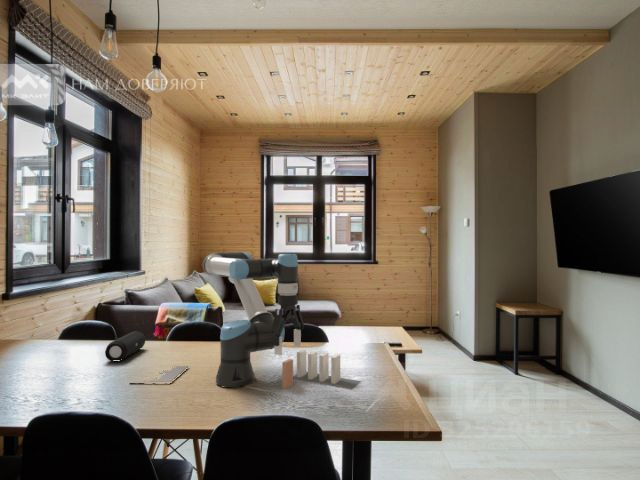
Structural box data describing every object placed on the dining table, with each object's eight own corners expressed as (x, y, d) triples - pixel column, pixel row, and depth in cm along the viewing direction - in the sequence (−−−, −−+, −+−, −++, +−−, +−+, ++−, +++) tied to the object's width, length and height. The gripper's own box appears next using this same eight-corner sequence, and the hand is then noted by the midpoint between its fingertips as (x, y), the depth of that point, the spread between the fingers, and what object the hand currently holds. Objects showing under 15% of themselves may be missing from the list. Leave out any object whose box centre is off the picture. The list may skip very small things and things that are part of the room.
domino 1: (296, 377, 157) (296, 352, 157) (303, 373, 161) (303, 349, 161) (300, 377, 156) (300, 352, 156) (306, 374, 160) (306, 350, 161)
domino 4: (331, 383, 149) (331, 357, 150) (336, 379, 154) (336, 354, 154) (334, 383, 149) (334, 357, 149) (340, 380, 153) (340, 354, 153)
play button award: (188, 366, 170) (170, 381, 150) (188, 369, 170) (170, 385, 150) (152, 365, 170) (129, 381, 150) (152, 369, 170) (129, 385, 150)
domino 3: (319, 381, 152) (319, 355, 152) (325, 377, 156) (325, 352, 156) (323, 381, 151) (323, 356, 151) (328, 377, 156) (328, 353, 156)
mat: (290, 379, 155) (290, 378, 155) (302, 372, 164) (302, 371, 164) (351, 390, 143) (351, 389, 143) (361, 382, 152) (361, 381, 152)
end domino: (282, 389, 144) (282, 362, 145) (289, 384, 149) (289, 358, 149) (285, 389, 144) (286, 362, 144) (293, 385, 148) (293, 359, 148)
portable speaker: (124, 363, 177) (125, 341, 178) (102, 363, 177) (103, 341, 177) (146, 349, 203) (147, 330, 203) (127, 349, 202) (127, 330, 203)
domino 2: (307, 379, 154) (307, 354, 154) (313, 375, 159) (313, 351, 159) (311, 379, 153) (311, 354, 154) (317, 376, 158) (317, 351, 158)
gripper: (277, 298, 134) (278, 359, 134) (312, 291, 156) (312, 344, 156) (260, 297, 138) (260, 357, 137) (296, 290, 160) (296, 342, 159)
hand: (288, 350), depth 146 cm, fingers open, 13 cm apart
